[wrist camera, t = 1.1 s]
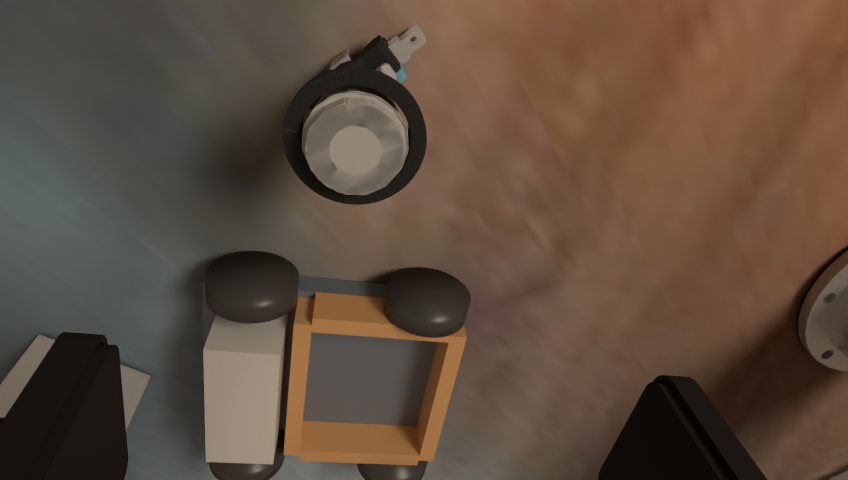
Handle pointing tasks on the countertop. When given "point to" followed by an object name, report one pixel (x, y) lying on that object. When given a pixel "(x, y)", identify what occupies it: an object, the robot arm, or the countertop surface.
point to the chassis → (326, 367)
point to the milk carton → (18, 377)
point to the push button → (358, 125)
